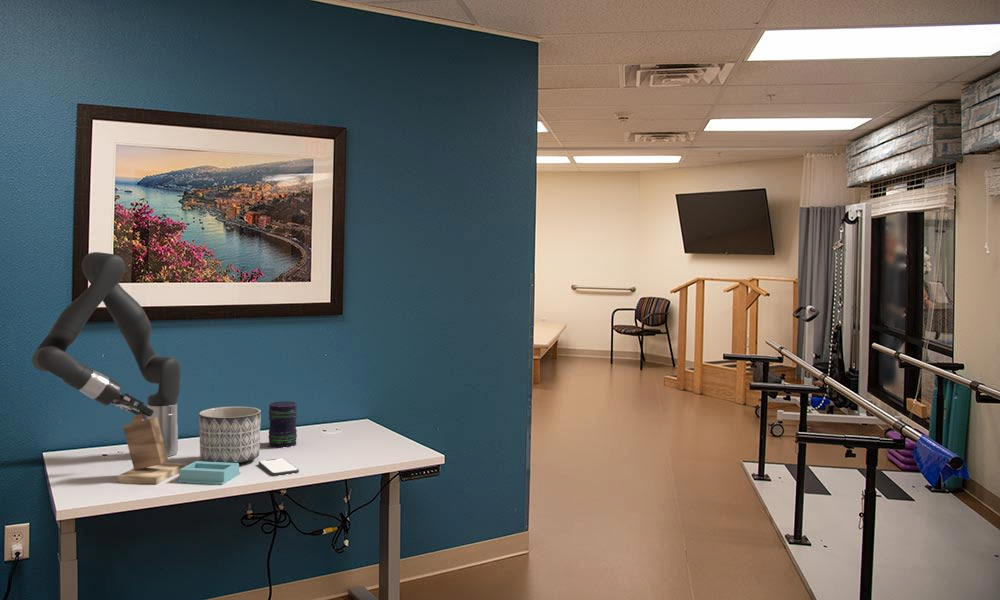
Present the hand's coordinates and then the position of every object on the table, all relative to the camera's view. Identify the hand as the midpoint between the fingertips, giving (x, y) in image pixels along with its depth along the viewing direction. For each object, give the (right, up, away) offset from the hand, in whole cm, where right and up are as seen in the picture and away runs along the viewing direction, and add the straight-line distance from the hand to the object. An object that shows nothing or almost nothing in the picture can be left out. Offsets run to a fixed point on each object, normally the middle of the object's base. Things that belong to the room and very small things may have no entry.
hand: (147, 414), depth 240 cm
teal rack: (+21, -19, -5) cm, 29 cm away
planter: (+21, -18, +15) cm, 31 cm away
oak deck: (+3, -18, -4) cm, 19 cm away
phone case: (+39, -19, +7) cm, 44 cm away
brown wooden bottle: (+3, -15, -4) cm, 16 cm away
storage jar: (+31, -17, +39) cm, 53 cm away
